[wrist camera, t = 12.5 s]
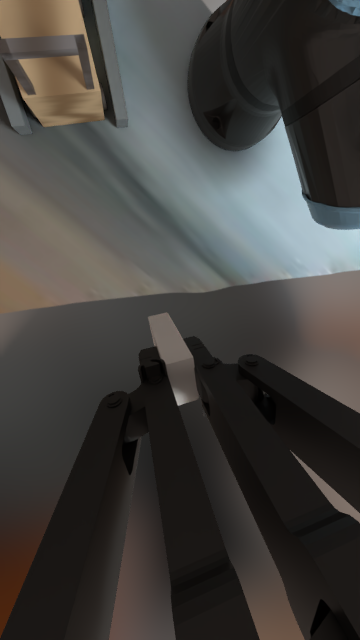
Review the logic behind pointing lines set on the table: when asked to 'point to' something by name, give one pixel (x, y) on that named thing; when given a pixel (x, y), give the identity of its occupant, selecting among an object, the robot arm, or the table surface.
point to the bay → (5, 85)
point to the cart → (51, 60)
